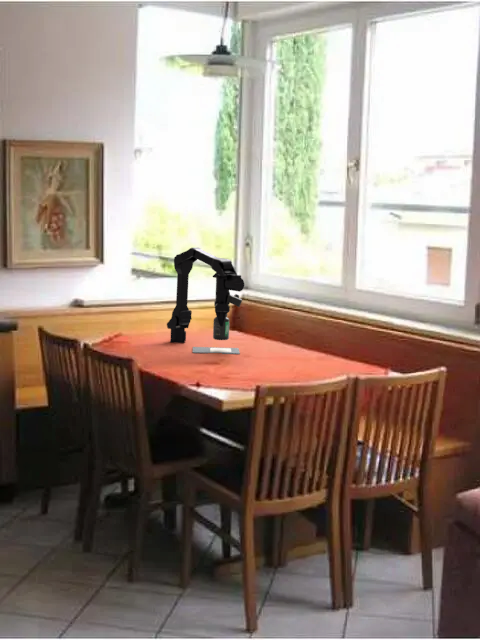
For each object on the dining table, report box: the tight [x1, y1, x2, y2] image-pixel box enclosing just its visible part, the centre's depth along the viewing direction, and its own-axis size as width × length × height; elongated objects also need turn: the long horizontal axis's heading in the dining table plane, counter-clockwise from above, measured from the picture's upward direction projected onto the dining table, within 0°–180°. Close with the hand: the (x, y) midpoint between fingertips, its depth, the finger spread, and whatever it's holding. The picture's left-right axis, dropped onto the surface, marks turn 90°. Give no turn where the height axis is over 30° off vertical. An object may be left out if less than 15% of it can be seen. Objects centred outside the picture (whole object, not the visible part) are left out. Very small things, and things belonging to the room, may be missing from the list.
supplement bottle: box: [212, 313, 231, 341], centre depth 406 cm, size 7×7×12 cm
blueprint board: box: [192, 346, 241, 355], centre depth 407 cm, size 20×13×1 cm, turn 92°
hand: (221, 325), depth 406 cm, fingers closed on supplement bottle, 7 cm apart
